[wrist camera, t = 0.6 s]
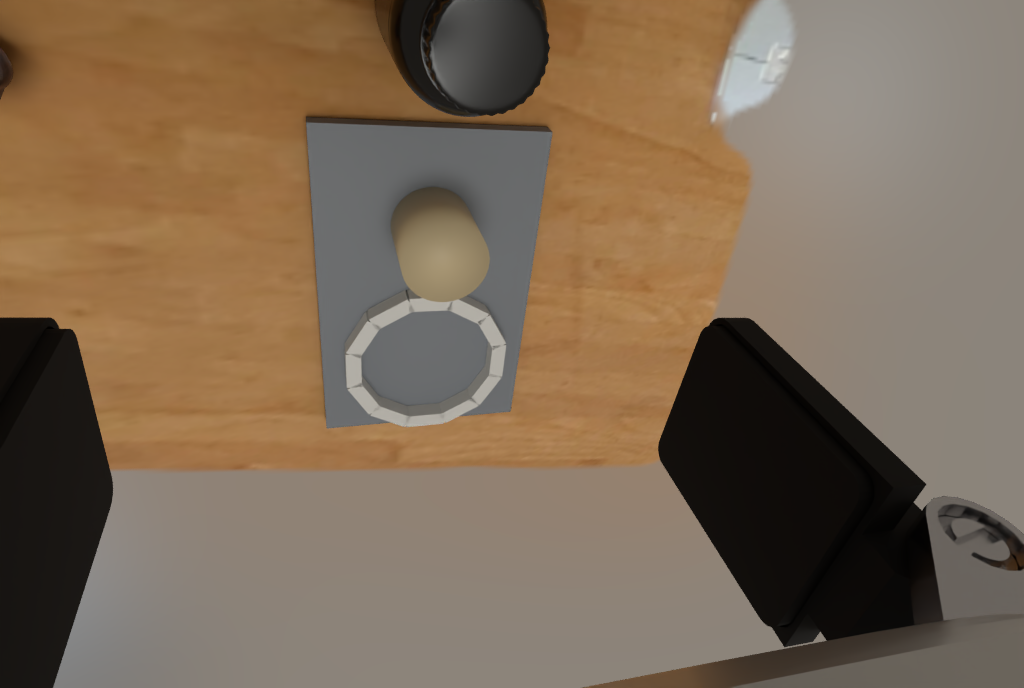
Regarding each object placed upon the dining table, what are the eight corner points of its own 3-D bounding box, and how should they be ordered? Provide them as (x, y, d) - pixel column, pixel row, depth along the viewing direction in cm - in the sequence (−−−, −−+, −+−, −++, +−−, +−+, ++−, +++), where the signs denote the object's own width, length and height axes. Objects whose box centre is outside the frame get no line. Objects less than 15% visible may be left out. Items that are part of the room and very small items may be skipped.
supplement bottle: (514, -53, 32) (601, -26, 23) (487, 85, 36) (553, 156, 27) (379, -89, 30) (416, -76, 21) (364, 61, 34) (390, 131, 24)
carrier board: (306, 117, 34) (307, 153, 30) (547, 127, 38) (581, 161, 34) (326, 419, 47) (329, 478, 42) (507, 403, 51) (528, 456, 46)
